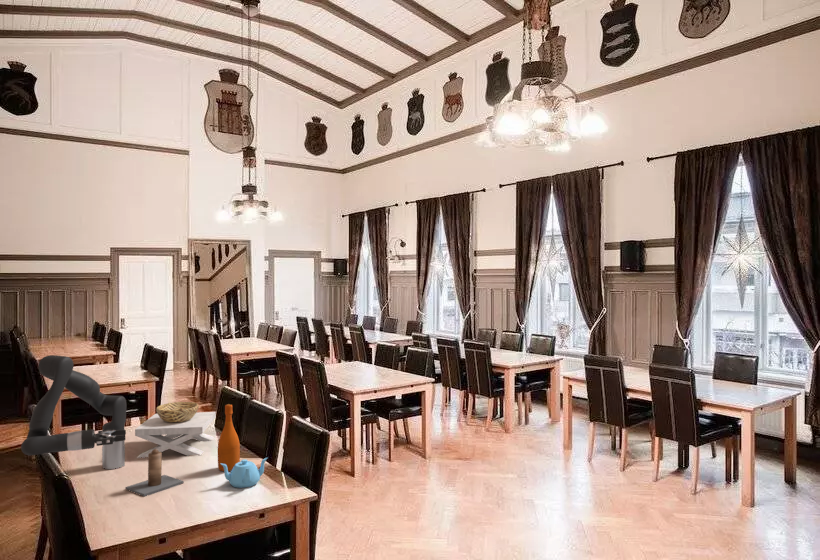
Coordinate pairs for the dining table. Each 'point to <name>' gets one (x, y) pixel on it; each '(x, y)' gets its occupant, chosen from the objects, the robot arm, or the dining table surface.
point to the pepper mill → (154, 468)
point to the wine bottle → (228, 443)
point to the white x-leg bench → (176, 428)
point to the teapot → (244, 473)
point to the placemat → (146, 490)
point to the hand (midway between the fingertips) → (125, 434)
